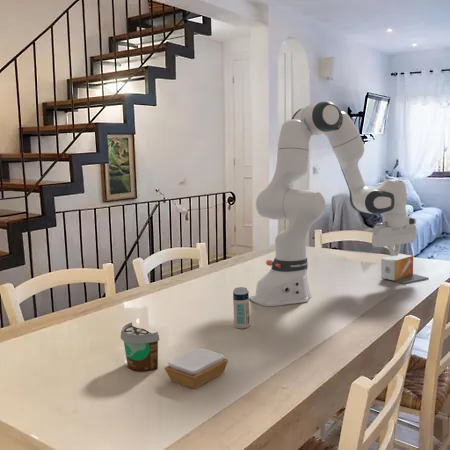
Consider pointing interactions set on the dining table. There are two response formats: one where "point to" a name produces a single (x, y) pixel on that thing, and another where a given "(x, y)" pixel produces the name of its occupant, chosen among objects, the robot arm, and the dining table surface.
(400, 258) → the small box
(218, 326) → the dining table surface
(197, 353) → the soap dish
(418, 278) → the mat
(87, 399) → the dining table surface
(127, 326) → the food container
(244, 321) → the supplement bottle
